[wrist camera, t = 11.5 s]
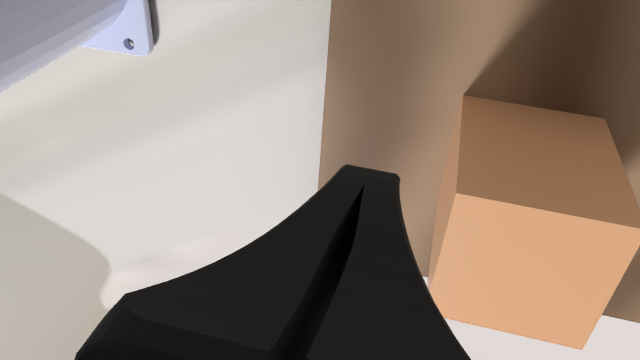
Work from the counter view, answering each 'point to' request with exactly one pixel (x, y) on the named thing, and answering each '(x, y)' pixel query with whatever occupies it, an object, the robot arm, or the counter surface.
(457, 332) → the counter surface
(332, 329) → the robot arm
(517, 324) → the tan rectangular block
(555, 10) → the post board
